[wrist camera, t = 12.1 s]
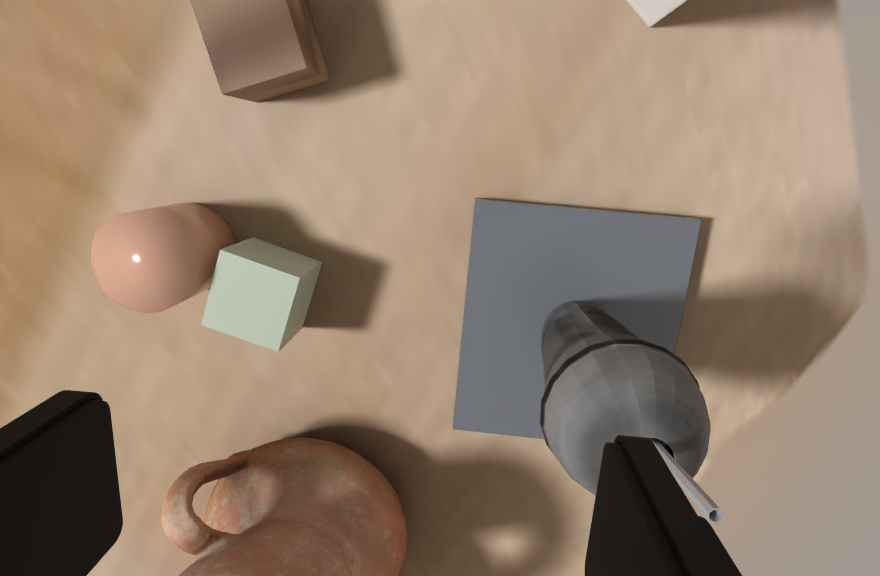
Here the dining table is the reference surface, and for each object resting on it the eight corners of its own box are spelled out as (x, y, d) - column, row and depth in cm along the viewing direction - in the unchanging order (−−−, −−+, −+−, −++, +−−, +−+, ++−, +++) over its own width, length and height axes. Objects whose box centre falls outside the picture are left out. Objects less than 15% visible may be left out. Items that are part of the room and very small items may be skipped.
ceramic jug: (457, 547, 42) (447, 741, 28) (308, 623, 44) (232, 833, 31) (321, 360, 39) (236, 475, 25) (170, 453, 41) (18, 603, 28)
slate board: (475, 198, 35) (475, 199, 34) (693, 217, 35) (701, 219, 33) (453, 420, 39) (452, 429, 38) (649, 441, 39) (654, 450, 37)
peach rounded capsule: (148, 198, 37) (87, 207, 31) (235, 206, 37) (189, 216, 31) (153, 284, 38) (95, 307, 32) (236, 292, 38) (192, 317, 32)
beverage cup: (500, 354, 36) (527, 583, 17) (554, 260, 35) (653, 395, 15) (595, 402, 37) (727, 678, 17) (654, 311, 35) (873, 506, 16)
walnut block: (230, 21, 34) (189, -2, 29) (305, -4, 33) (276, -31, 28) (257, 102, 35) (222, 94, 30) (330, 80, 34) (306, 68, 29)
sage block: (253, 236, 37) (219, 249, 32) (322, 261, 37) (299, 277, 32) (236, 303, 38) (201, 324, 33) (303, 327, 38) (278, 351, 33)
